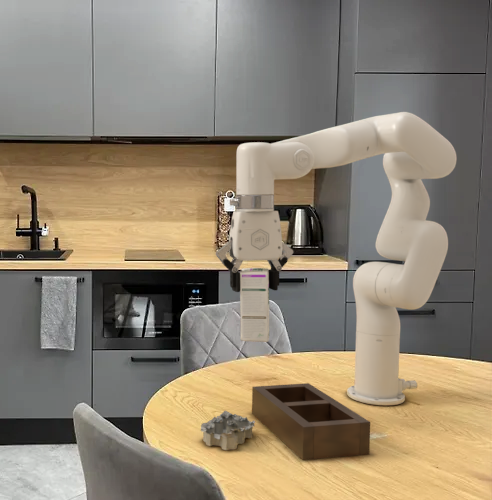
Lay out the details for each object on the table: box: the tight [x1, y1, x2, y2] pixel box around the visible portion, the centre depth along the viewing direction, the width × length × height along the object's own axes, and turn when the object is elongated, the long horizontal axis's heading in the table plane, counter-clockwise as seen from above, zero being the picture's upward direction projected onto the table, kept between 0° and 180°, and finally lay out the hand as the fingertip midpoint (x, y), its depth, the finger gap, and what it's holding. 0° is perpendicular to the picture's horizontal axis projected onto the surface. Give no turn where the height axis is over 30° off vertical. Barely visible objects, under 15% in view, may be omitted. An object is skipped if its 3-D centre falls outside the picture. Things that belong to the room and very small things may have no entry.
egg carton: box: [200, 410, 256, 451], centre depth 118 cm, size 11×8×4 cm
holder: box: [251, 382, 371, 461], centre depth 122 cm, size 13×24×6 cm, turn 12°
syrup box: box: [239, 267, 270, 343], centre depth 127 cm, size 6×6×14 cm
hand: (254, 289), depth 127 cm, fingers closed on syrup box, 7 cm apart
